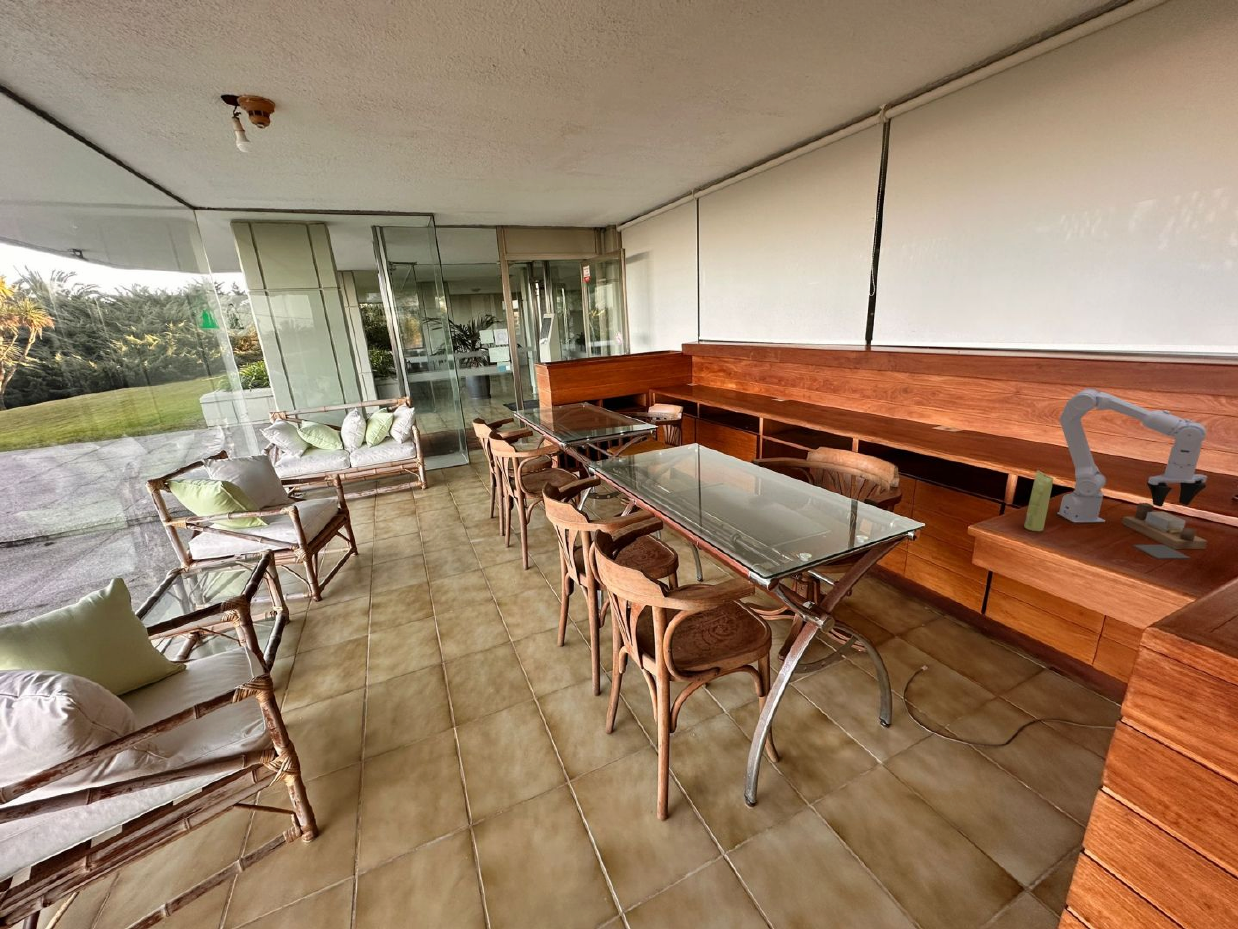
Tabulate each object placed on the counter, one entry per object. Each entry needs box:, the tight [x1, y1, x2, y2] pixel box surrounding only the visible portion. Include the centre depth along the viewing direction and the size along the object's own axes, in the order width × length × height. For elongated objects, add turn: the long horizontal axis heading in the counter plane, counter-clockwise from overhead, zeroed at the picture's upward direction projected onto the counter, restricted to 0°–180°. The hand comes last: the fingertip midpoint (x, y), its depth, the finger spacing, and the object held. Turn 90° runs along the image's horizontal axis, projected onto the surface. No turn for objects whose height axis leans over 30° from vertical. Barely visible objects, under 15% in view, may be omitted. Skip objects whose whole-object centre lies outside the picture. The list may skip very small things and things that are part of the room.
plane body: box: [1121, 502, 1208, 550], centre depth 149 cm, size 8×18×8 cm, turn 172°
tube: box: [1024, 470, 1054, 532], centre depth 158 cm, size 6×5×20 cm
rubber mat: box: [1132, 544, 1191, 560], centre depth 141 cm, size 8×8×1 cm
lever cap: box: [1145, 511, 1187, 533], centre depth 149 cm, size 4×7×4 cm, turn 172°
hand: (1170, 504), depth 148 cm, fingers open, 7 cm apart
